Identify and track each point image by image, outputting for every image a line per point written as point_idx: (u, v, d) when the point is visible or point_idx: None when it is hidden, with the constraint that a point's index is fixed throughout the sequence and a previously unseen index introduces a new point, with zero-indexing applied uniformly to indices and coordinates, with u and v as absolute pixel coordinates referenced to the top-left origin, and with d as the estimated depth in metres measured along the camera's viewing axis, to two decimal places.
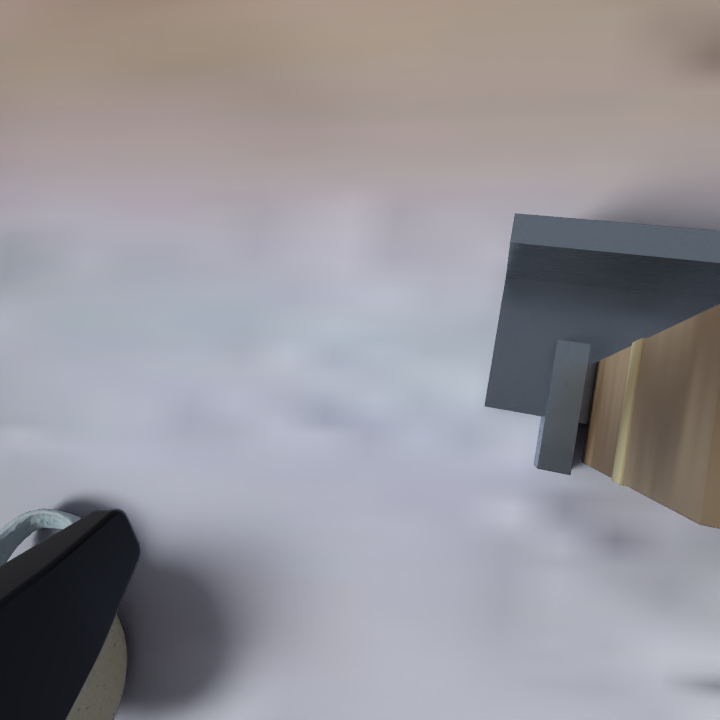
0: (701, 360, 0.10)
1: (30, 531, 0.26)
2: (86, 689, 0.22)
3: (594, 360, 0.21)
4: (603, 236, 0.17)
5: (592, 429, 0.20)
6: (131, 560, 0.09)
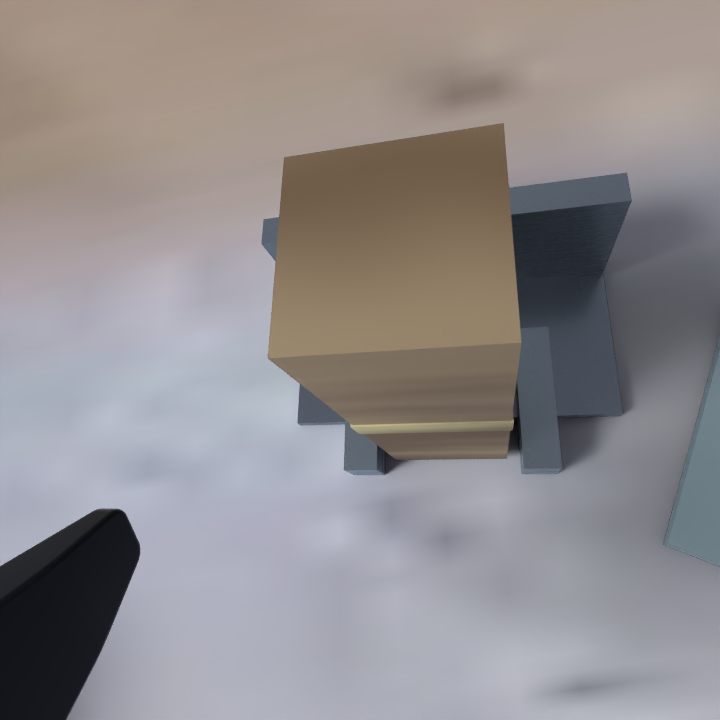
0: None
1: None
2: None
3: None
4: None
5: None
6: (131, 560, 0.09)
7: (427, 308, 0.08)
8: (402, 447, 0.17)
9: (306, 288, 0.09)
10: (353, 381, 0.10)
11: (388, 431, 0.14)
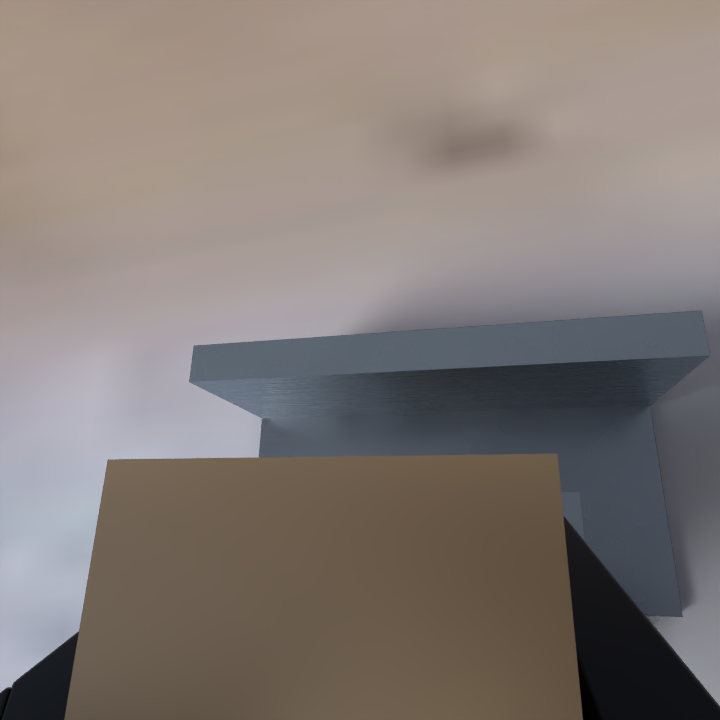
0: None
1: None
2: None
3: None
4: (293, 357, 0.13)
5: None
6: None
7: None
8: None
9: None
10: None
11: None
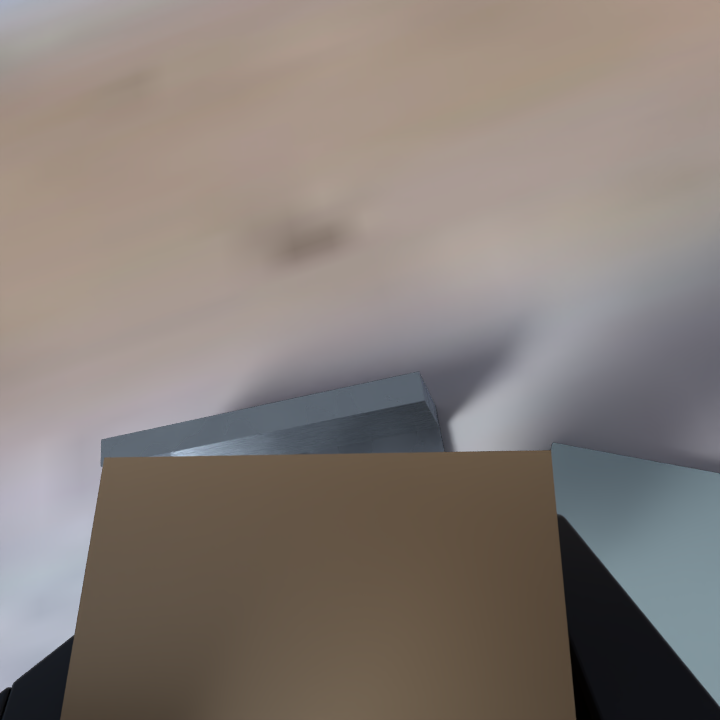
0: None
1: None
2: None
3: None
4: (170, 438, 0.19)
5: None
6: None
7: None
8: None
9: None
10: None
11: None
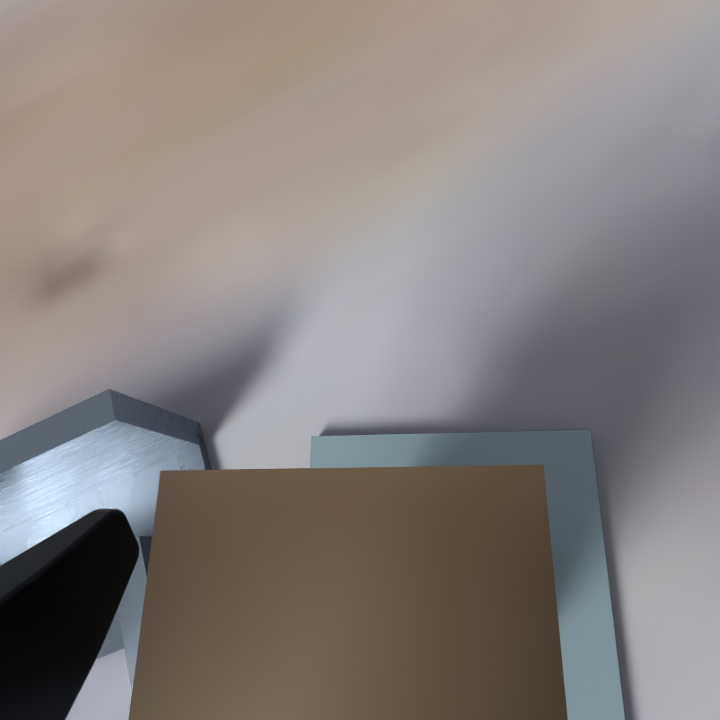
0: None
1: None
2: None
3: None
4: None
5: None
6: (130, 560, 0.09)
7: None
8: None
9: None
10: None
11: None
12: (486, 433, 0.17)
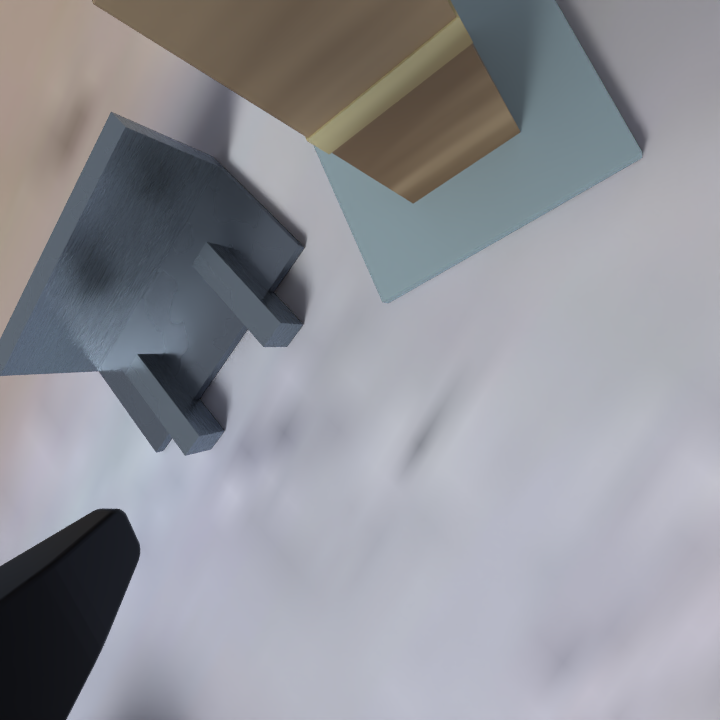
0: None
1: None
2: None
3: (166, 354, 0.24)
4: (19, 317, 0.21)
5: None
6: (131, 560, 0.09)
7: None
8: (396, 167, 0.15)
9: None
10: (219, 11, 0.08)
11: (350, 128, 0.13)
12: None
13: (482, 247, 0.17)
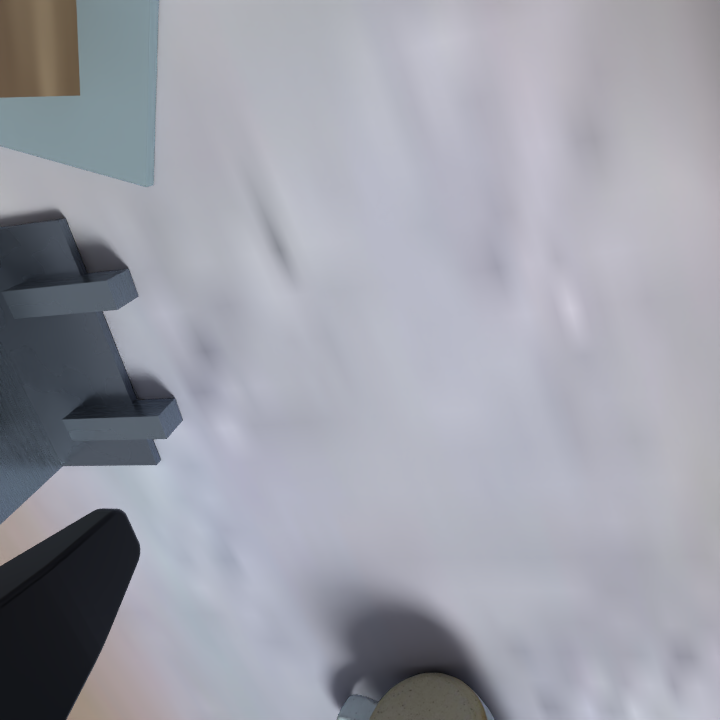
0: None
1: None
2: None
3: (82, 399, 0.25)
4: None
5: None
6: (131, 560, 0.09)
7: None
8: (16, 70, 0.15)
9: None
10: None
11: None
12: None
13: (153, 69, 0.18)
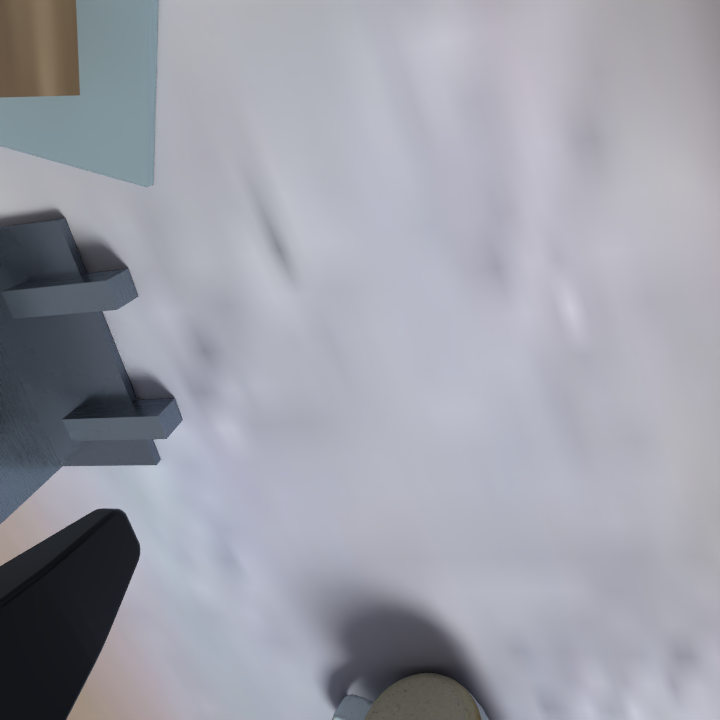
0: None
1: None
2: None
3: (82, 399, 0.25)
4: None
5: None
6: (131, 560, 0.09)
7: None
8: (16, 70, 0.15)
9: None
10: None
11: None
12: None
13: (153, 69, 0.18)
